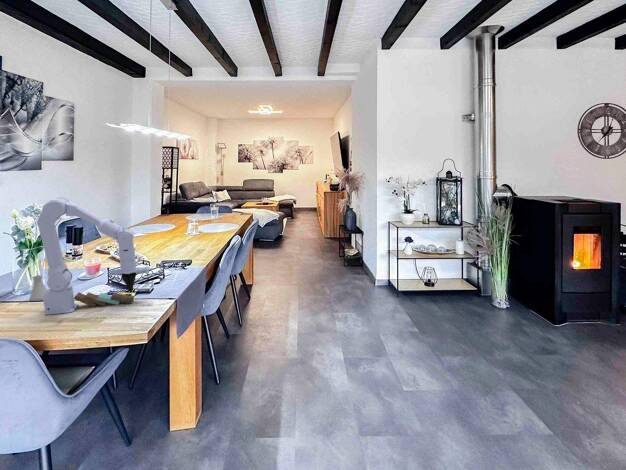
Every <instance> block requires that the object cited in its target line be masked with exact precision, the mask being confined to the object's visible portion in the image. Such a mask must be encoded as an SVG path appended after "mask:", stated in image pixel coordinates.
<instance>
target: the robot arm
mask: <svg viewBox="0 0 626 470" xmlns="http://www.w3.org/2000/svg"><path fill="white" fill-rule="evenodd" d="M64 215H65V217H78V218H79V219H81V220H83V221H85V222H87V223H89V224H92V225H93V226H96V227H97V231H98V232H99V233H102V234H103V235H105V236H106V237H109V238H111V239H112V240H116V243H117V244H118V254H119V264H120V268H118V269H117V268H116V269H110V270H109V271H108V277H112V276H121V279H122V281H123V282H124V284H125V286H126V288H127V290H128V292H133V291H134V285H135V284H134V283H135V280H136V277H137V275H138V274H149V267H137V263H136V261H137V260H136V253H135V244H134V238H135V237H134V236H135V235H134V233H133V231H132V230H131V229H130V228H126V226H121V225H119V224H118V223H116V222H114V220H113V219H112V218H111V219H109V218H105V219H102V218H100V217H99V216H97V215H96V214H94V213H92V212H91V211H89V210H87V209H86V208H85V207H83V206H82V205H80V204H77V203H76V202H74V201H70V200H69V199H68V198H65V197H57V198H56V199H51V200H49V201H48V202H46V203H45V204H44V205H42V209H41V212H40V213H39V216H38V219H37V221H36V224H37V227H38V230H39V235H40V238H41V241H42V246H43V249H44V254H45V257H46V262H47V265H48V269H47V276H48V277H47V281H46V284H47V287H48V288H49V289H47V290H45V291H44V294H43V300H42V302H43V306H44V307H43V308H44V315H45V316H47V315H58V314H67V313H73V312H74V311H75V310H76V309H77V307H78V306H79V303H75V299H74V297H75V295H74V291H73V290H74V289H73V284H72V283H71V281H72V280H73V274H72V272H71V271H70V270H69V268H68V265H67V264H66V263H65V260H64V255H63V252H62V248H61V244H60V241H59V235H58V232H57V228H56V223H57V221H58V220H60V218H61V217H63V216H64Z"/></svg>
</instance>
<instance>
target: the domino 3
mask: <svg viewBox="0 0 626 470" xmlns="http://www.w3.org/2000/svg"><path fill="white" fill-rule="evenodd" d="M97 296H98V298H97V300H99V301H103V302H107V303H108V304H112V305H117V306H118V305H119V304H120V301H115V300H110V299H111V296H112V294H111V295H110V294H106V293H102V292H100V293H99V295H97Z"/></svg>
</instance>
